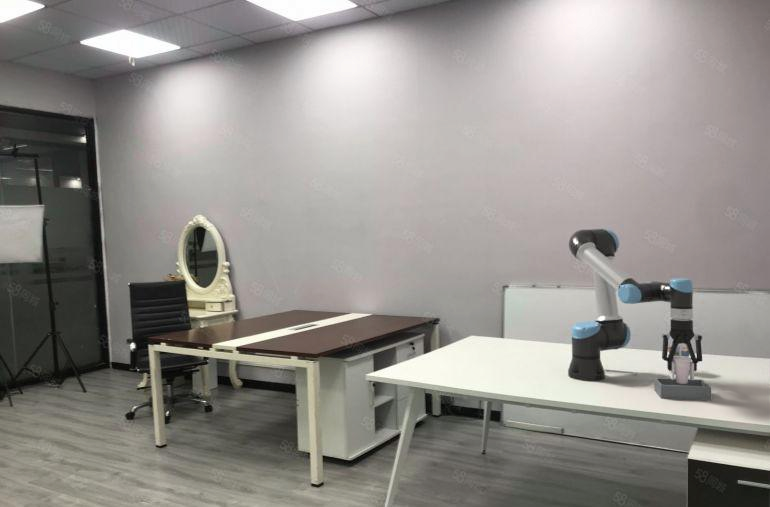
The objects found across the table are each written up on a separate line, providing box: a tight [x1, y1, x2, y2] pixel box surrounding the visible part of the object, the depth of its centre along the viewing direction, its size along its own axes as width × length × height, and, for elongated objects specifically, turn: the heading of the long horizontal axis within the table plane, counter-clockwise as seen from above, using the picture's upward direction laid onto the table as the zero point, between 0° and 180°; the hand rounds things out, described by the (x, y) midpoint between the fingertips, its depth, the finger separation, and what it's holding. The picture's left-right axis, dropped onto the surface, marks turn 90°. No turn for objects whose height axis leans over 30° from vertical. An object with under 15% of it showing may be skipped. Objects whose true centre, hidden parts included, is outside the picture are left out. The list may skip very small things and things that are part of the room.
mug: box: [668, 346, 690, 374], centre depth 246 cm, size 12×9×11 cm
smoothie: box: [673, 345, 692, 384], centre depth 213 cm, size 6×6×14 cm
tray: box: [653, 377, 712, 401], centre depth 213 cm, size 17×10×5 cm, turn 77°
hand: (682, 378), depth 213 cm, fingers closed on smoothie, 6 cm apart
